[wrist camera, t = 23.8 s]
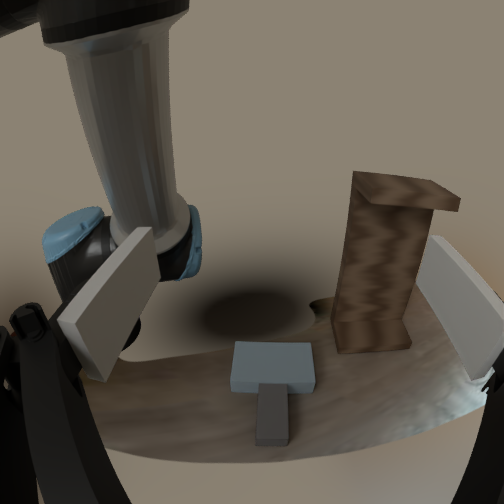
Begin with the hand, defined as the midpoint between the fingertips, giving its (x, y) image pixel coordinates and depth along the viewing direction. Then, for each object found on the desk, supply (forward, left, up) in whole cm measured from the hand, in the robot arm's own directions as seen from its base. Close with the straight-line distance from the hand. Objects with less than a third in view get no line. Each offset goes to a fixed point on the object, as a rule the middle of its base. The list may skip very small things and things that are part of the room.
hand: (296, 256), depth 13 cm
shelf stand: (+18, +25, -30) cm, 43 cm away
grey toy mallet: (0, +12, -30) cm, 33 cm away
